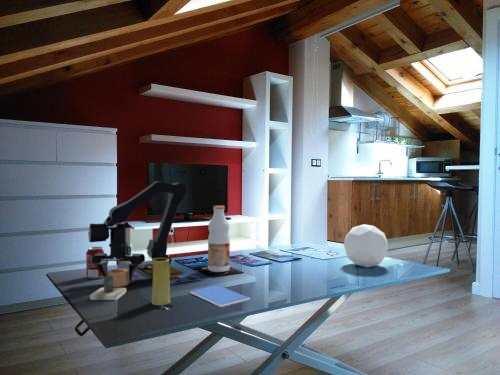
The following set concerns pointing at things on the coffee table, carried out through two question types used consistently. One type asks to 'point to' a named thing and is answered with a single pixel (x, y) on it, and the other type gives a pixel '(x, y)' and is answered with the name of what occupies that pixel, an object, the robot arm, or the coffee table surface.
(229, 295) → the tablet computer
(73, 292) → the coffee table surface
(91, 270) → the soda can
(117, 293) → the shaft block
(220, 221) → the fruit juice
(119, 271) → the ring
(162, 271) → the vase
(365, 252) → the geometric polyhedron
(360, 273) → the coffee table surface
